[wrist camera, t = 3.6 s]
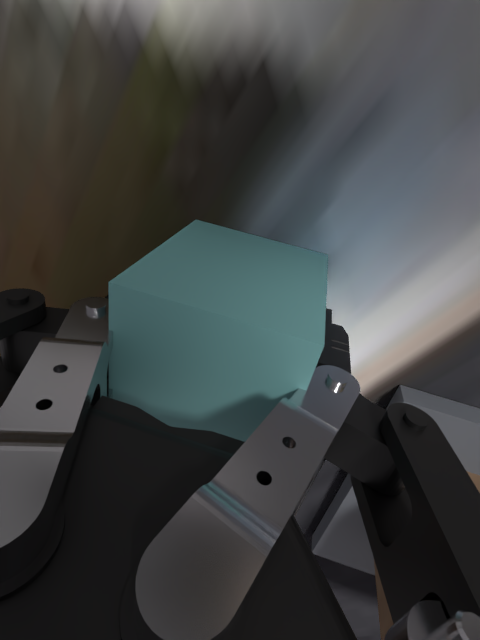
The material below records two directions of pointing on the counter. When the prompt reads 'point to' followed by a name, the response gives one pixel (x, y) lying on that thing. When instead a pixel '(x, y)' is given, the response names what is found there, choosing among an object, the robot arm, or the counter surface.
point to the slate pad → (343, 513)
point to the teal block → (216, 328)
